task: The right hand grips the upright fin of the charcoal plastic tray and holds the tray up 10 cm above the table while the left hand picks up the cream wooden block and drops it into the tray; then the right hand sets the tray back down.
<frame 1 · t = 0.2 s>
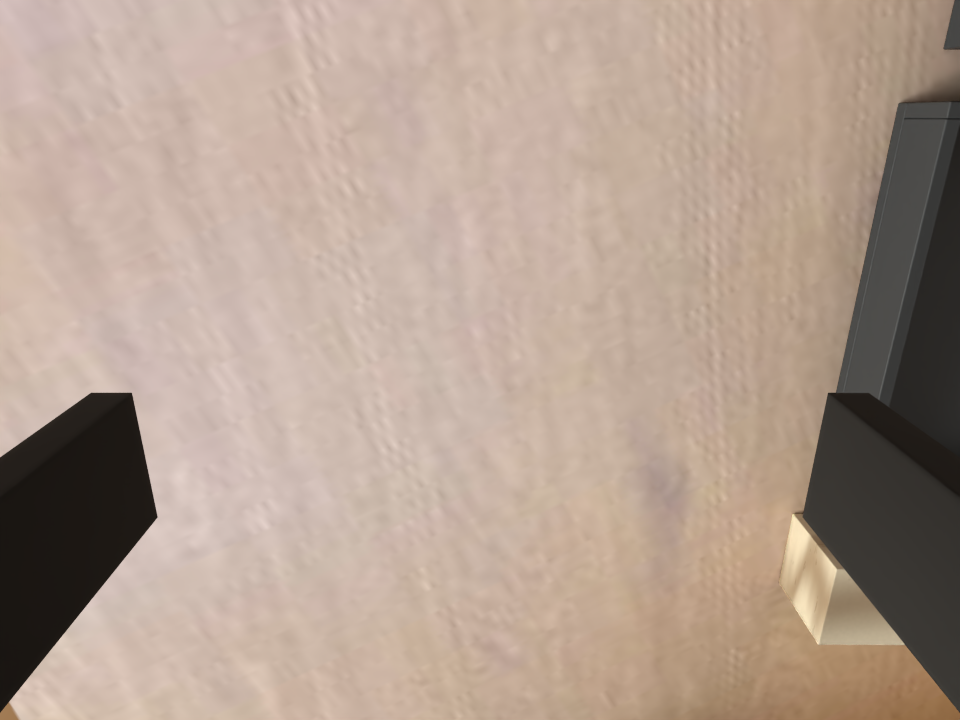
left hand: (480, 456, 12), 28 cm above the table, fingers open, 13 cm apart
block: (826, 548, 46), on the table
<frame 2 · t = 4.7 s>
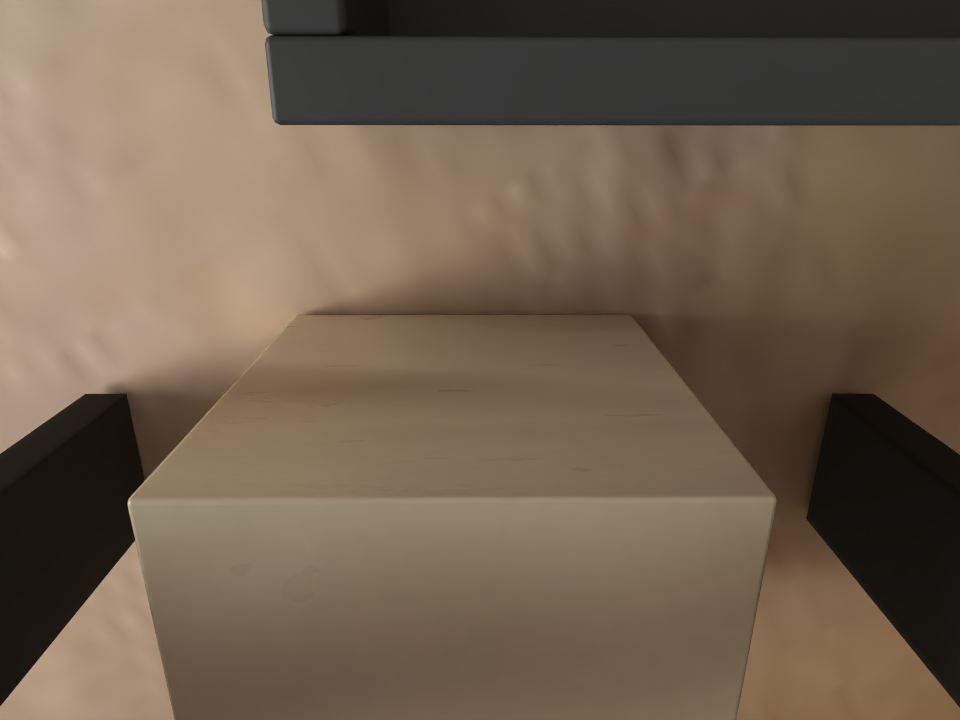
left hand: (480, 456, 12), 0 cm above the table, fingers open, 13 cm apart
block: (465, 462, 13), on the table
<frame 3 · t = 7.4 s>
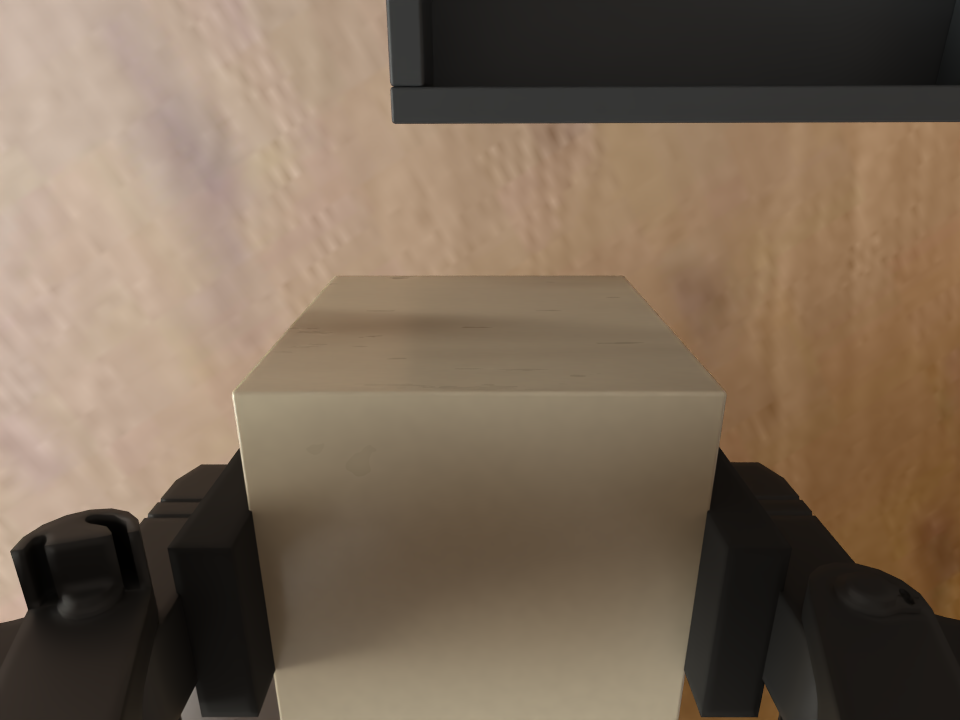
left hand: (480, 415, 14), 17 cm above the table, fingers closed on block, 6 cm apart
block: (479, 406, 14), point 17 cm above the table, touching left hand
when the left hand's fingers open (14 cm above the table, at t = 9.7 s): block drops 7 cm, resting on tray.
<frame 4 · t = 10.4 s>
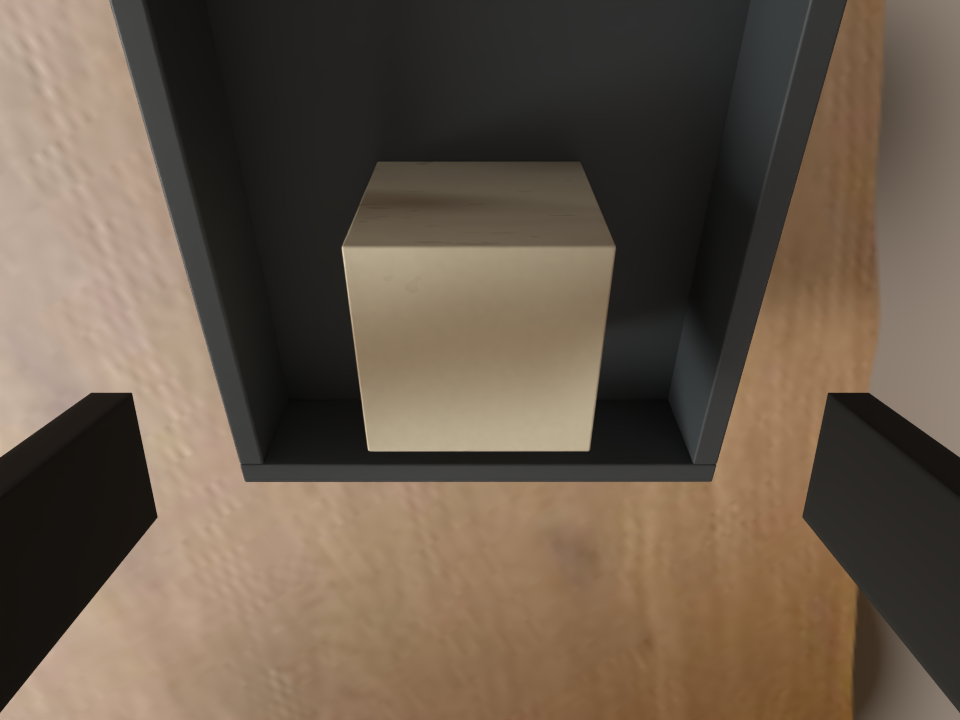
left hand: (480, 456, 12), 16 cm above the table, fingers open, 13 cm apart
block: (478, 254, 21), point 7 cm above the table, tilted 14°, touching tray
tray: (478, 76, 18), point 7 cm above the table, tilted 14°, touching block, right hand
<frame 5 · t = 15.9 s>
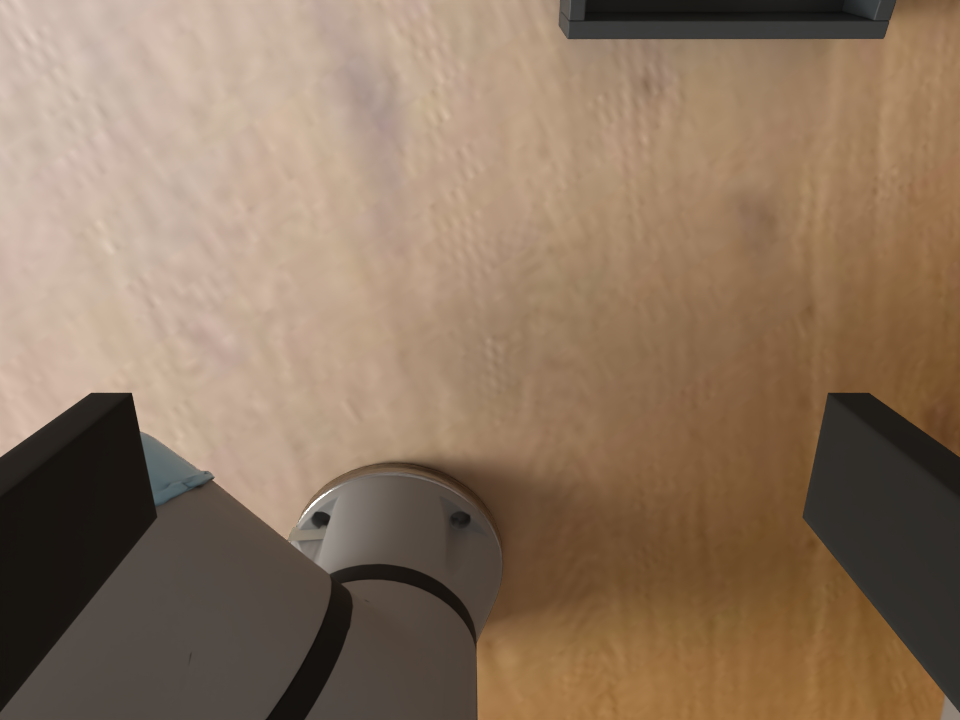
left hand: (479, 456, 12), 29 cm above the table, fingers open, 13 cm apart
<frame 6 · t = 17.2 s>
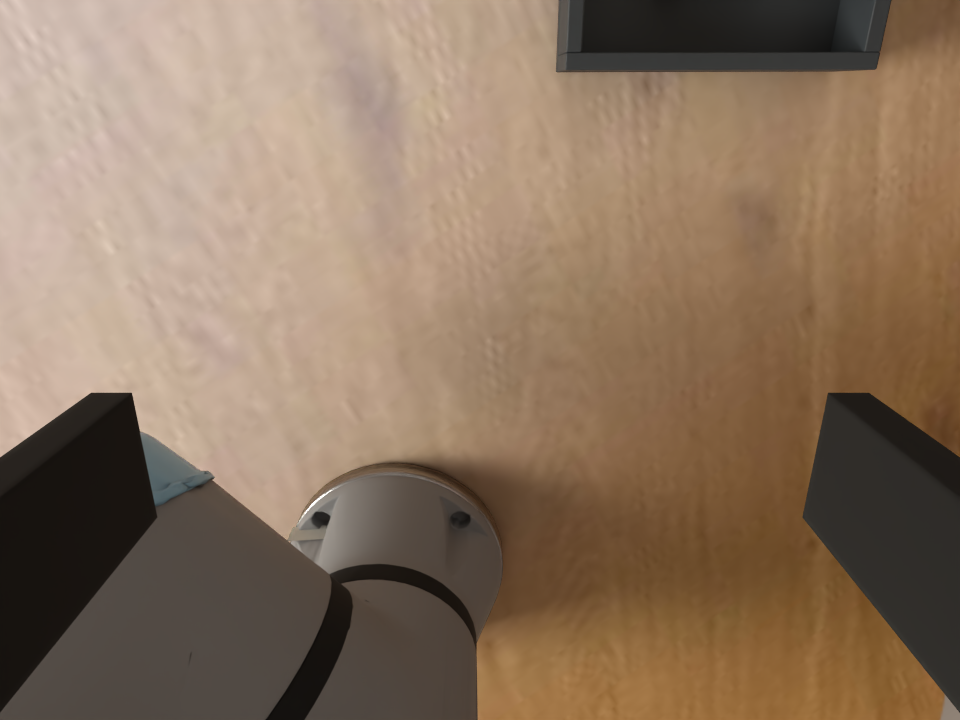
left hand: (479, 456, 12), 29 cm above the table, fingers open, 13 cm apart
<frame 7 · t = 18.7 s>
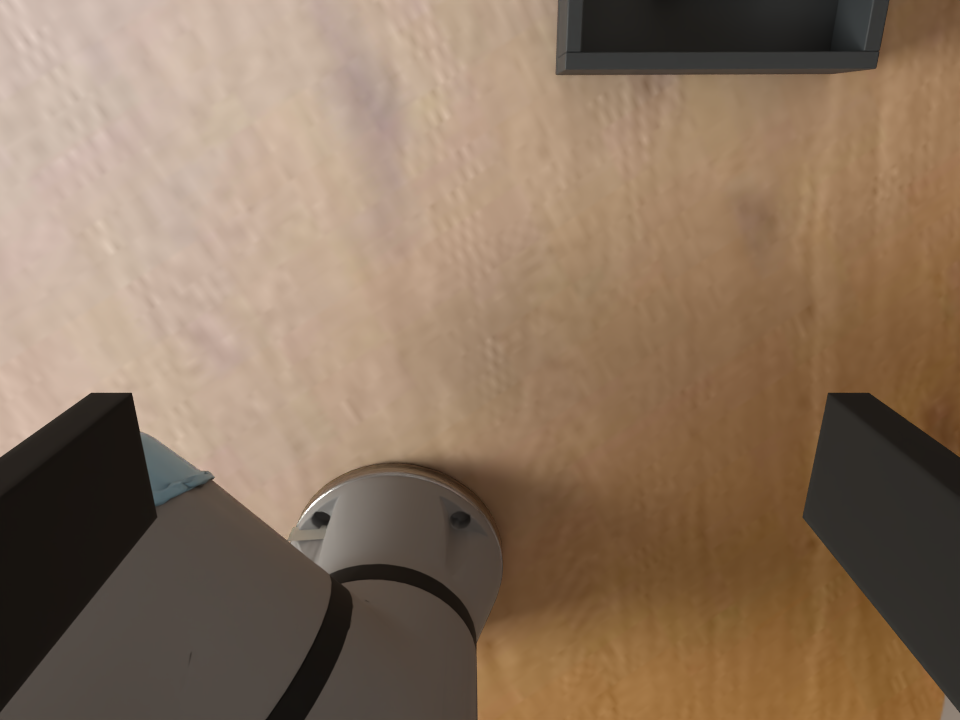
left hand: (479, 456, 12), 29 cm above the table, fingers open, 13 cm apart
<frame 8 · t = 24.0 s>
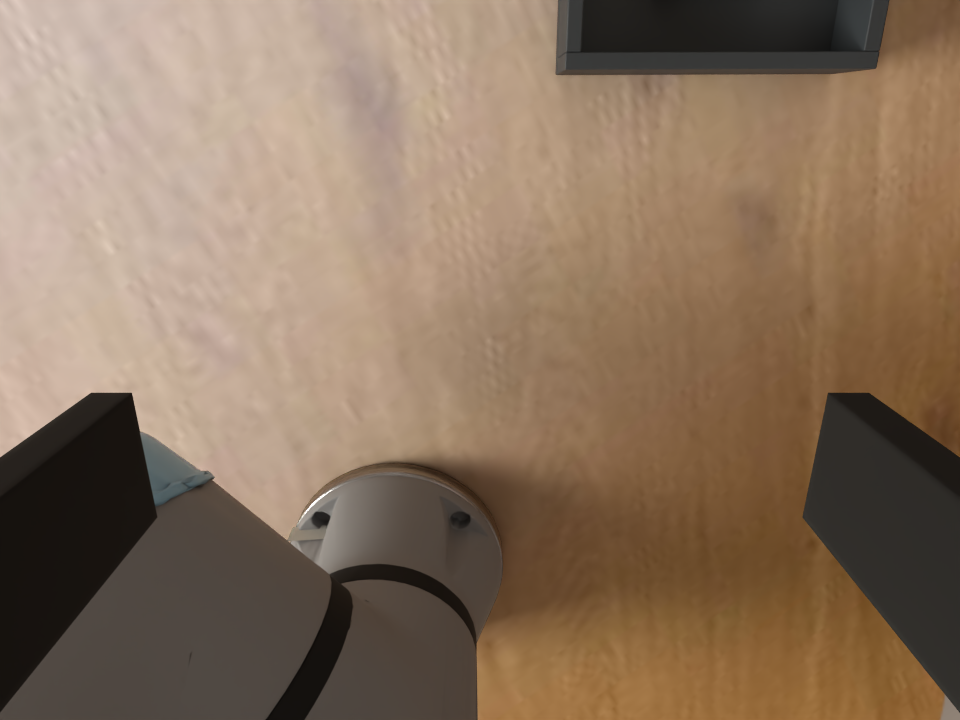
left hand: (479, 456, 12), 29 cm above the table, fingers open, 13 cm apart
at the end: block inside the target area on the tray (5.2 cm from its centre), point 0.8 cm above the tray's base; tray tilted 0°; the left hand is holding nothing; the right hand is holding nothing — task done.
